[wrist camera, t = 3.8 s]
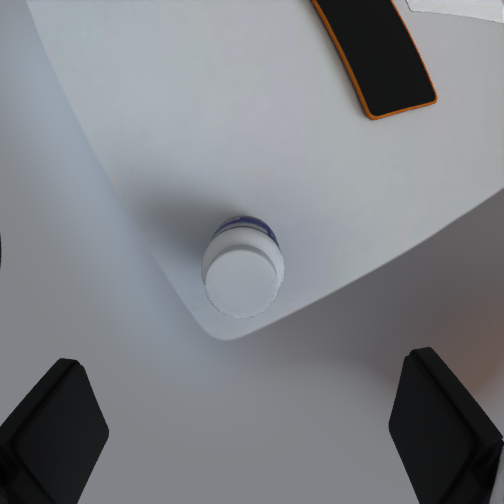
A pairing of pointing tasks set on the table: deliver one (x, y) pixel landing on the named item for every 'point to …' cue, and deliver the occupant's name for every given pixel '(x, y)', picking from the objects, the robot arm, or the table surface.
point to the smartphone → (378, 55)
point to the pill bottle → (242, 267)
